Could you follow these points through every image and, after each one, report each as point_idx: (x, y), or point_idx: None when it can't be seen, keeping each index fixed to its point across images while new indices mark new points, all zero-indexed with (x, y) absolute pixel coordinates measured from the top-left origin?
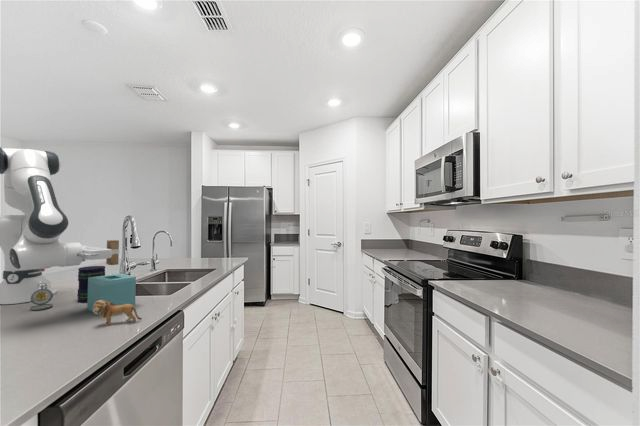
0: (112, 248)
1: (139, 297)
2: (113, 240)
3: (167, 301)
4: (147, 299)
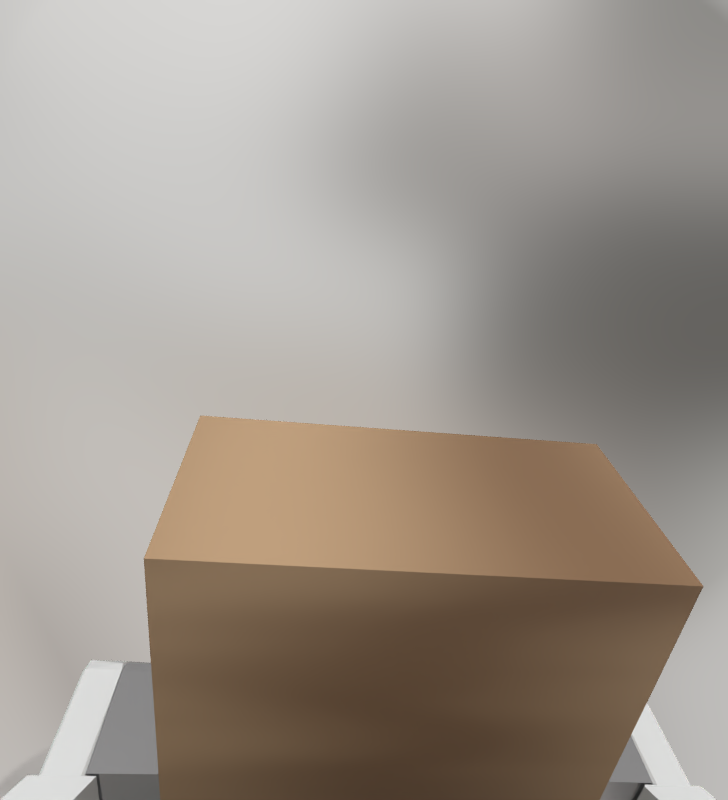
0: (593, 769)
1: None
2: (455, 488)
3: None
4: None
